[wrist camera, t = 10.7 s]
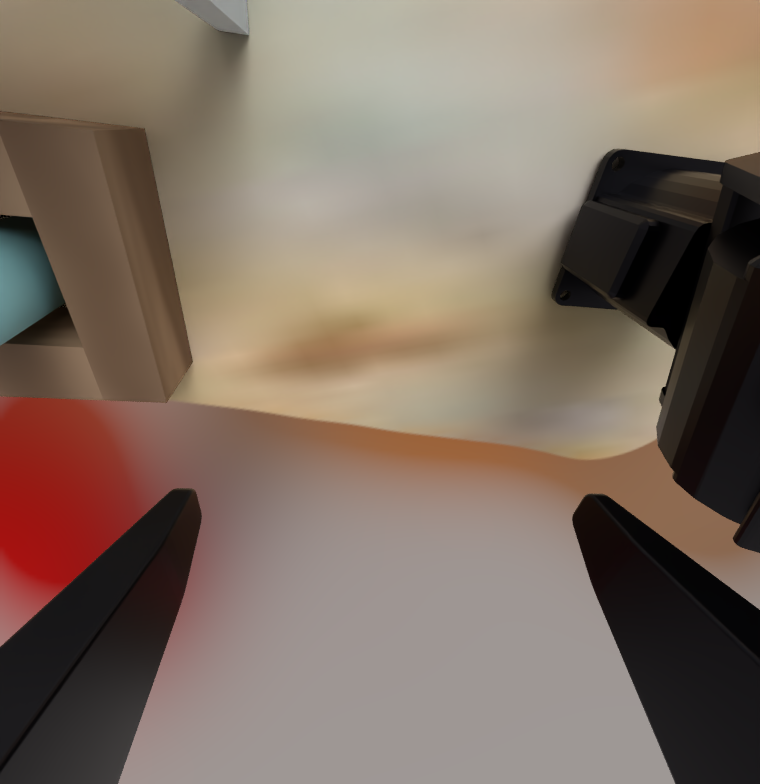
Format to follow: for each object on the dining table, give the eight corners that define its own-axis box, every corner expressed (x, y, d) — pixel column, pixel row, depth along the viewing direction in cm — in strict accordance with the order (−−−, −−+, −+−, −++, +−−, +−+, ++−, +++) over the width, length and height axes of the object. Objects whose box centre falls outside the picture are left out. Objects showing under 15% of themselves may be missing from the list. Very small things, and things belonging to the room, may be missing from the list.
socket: (144, 128, 14) (92, 130, 11) (192, 361, 20) (166, 402, 17) (-173, 90, 13) (-322, 82, 10) (-24, 350, 18) (-91, 392, 16)
